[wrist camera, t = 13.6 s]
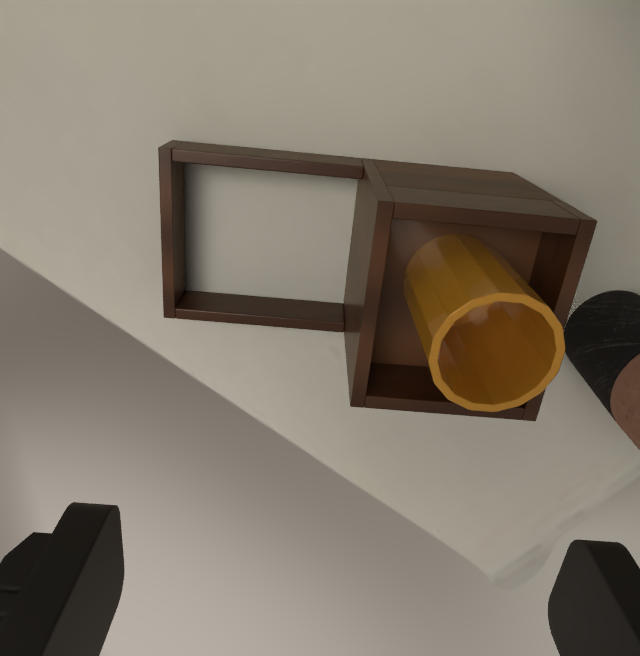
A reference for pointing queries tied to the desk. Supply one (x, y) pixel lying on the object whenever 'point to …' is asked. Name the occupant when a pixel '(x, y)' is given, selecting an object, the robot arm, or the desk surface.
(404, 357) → the organizer
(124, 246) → the desk surface
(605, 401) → the travel mug
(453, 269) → the cup
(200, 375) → the desk surface
